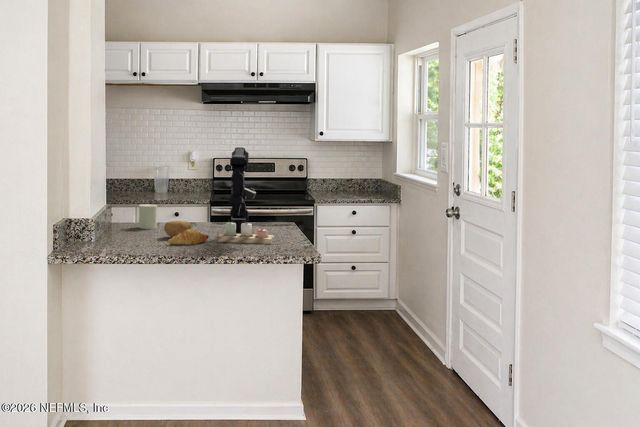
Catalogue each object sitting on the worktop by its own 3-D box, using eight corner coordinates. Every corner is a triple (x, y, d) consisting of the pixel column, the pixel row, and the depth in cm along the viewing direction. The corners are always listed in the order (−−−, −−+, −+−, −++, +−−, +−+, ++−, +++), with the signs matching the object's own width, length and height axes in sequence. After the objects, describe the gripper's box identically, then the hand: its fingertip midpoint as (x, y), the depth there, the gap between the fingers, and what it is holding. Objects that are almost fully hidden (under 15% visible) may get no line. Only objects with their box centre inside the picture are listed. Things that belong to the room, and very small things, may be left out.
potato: (196, 237, 385) (196, 221, 384) (170, 239, 376) (170, 223, 375) (185, 234, 393) (185, 218, 392) (159, 237, 383) (160, 220, 382)
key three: (255, 242, 378) (256, 230, 377) (257, 240, 383) (257, 228, 382) (266, 242, 378) (266, 230, 377) (267, 241, 383) (268, 229, 382)
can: (160, 227, 413) (161, 204, 412) (147, 229, 405) (148, 205, 404) (147, 225, 418) (147, 202, 417) (134, 227, 410) (134, 204, 409)
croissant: (171, 253, 360) (176, 239, 357) (161, 240, 366) (165, 226, 362) (211, 248, 374) (215, 234, 371) (200, 236, 380) (204, 222, 377)
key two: (240, 236, 378) (240, 224, 377) (241, 234, 383) (242, 222, 382) (250, 236, 378) (251, 224, 377) (252, 235, 383) (252, 223, 382)
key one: (224, 235, 378) (224, 223, 378) (226, 233, 383) (226, 222, 382) (234, 235, 378) (235, 223, 377) (236, 234, 383) (236, 222, 382)
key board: (217, 241, 376) (218, 236, 375) (221, 238, 387) (222, 233, 386) (271, 243, 375) (271, 238, 374) (273, 240, 385) (273, 235, 385)
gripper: (253, 185, 368) (252, 219, 370) (256, 181, 386) (256, 213, 388) (228, 184, 368) (228, 218, 370) (233, 180, 387) (233, 213, 389)
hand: (237, 215), depth 379 cm, fingers closed
